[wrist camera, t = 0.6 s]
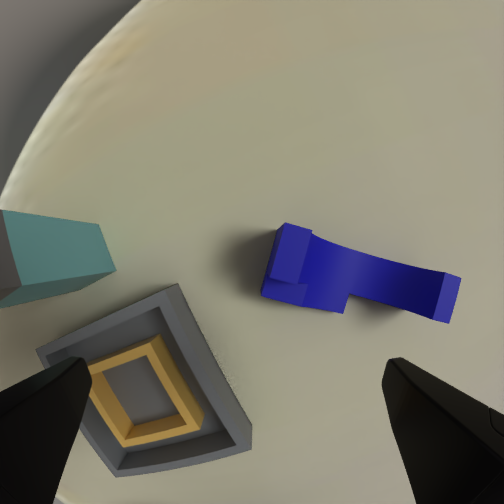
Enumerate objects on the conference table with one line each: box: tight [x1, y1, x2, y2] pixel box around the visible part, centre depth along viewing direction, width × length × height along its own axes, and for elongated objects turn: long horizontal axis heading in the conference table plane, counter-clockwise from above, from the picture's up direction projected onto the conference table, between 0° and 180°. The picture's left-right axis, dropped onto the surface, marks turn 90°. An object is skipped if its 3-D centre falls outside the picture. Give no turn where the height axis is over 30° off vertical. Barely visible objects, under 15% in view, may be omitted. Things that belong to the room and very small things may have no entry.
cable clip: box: [261, 223, 461, 324], centre depth 19 cm, size 12×4×6 cm, turn 74°
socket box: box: [35, 284, 252, 477], centre depth 20 cm, size 13×13×4 cm
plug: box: [0, 210, 116, 309], centre depth 15 cm, size 4×4×13 cm
